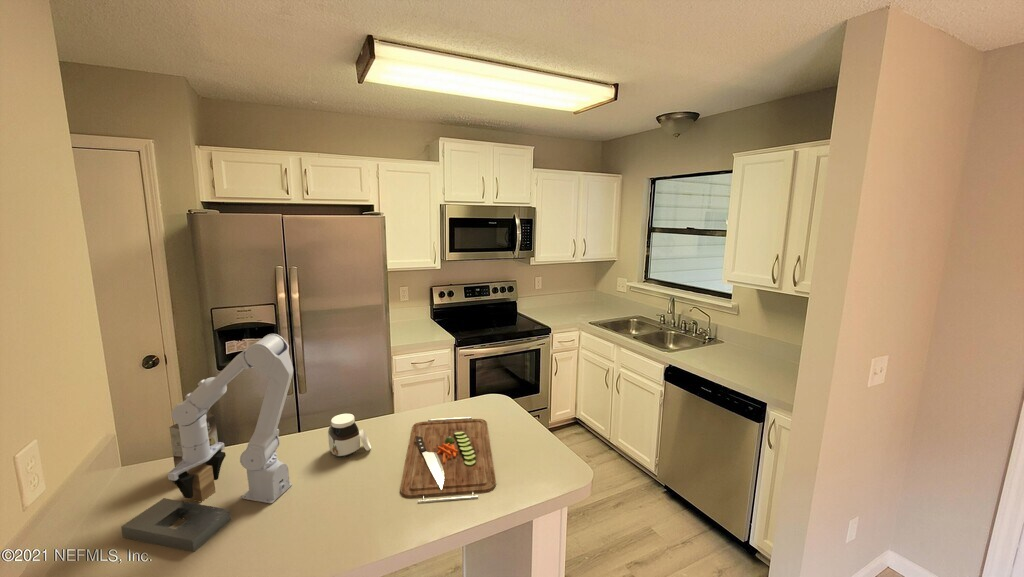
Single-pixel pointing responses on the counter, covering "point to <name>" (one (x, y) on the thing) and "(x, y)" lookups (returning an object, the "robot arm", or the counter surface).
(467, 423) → the chopping board
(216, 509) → the grey peg hole board
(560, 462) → the counter surface
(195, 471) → the square peg
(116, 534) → the counter surface
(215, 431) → the coffee box
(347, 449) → the spread jar
